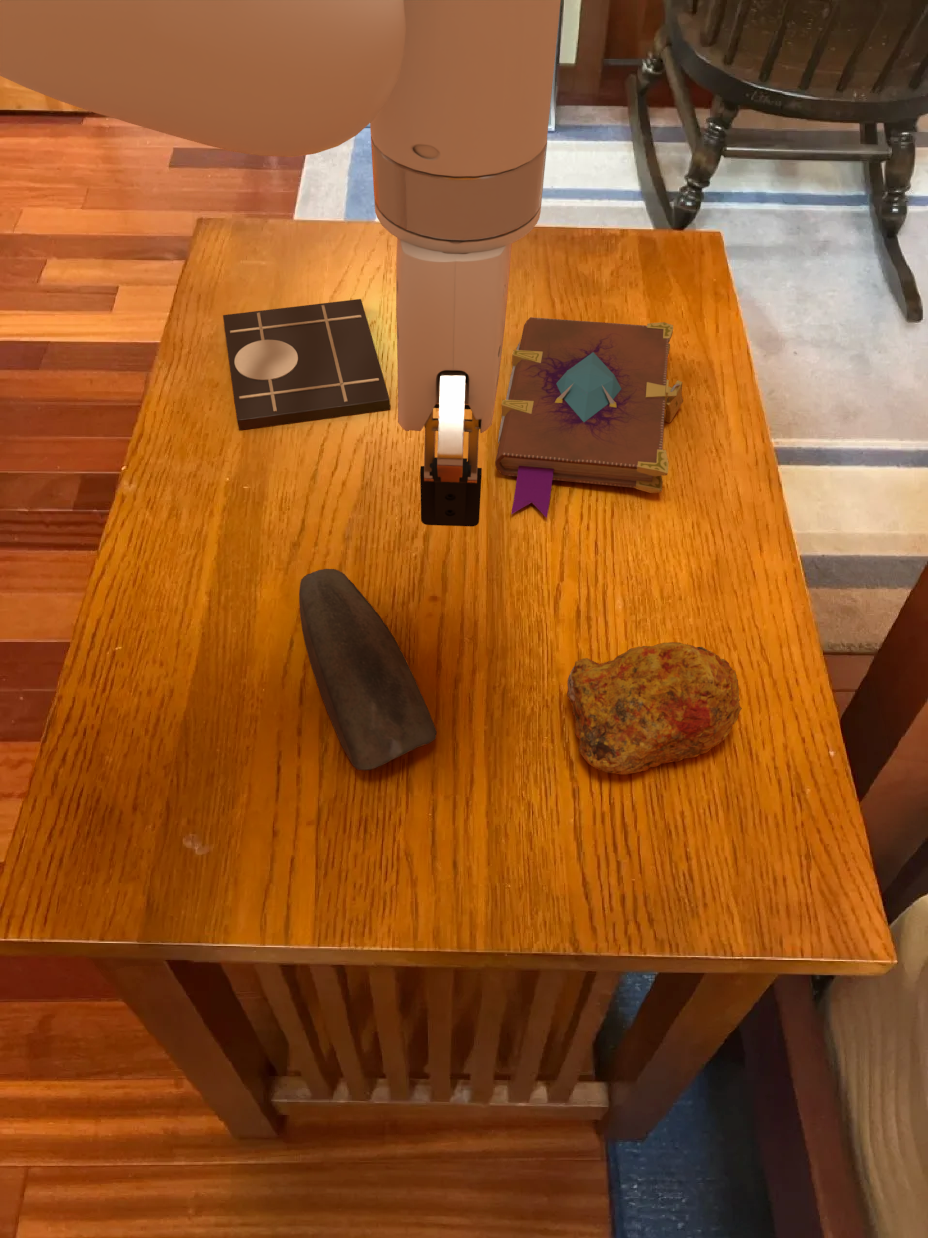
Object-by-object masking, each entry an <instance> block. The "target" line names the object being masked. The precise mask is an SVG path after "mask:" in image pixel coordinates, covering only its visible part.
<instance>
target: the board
mask: <svg viewBox="0 0 928 1238" xmlns="http://www.w3.org/2000/svg"><path fill="white" fill-rule="evenodd" d="M367 318H368V317H367V315H366V310H365V308H364V303H363V301H362V299H361V298H357V299H348V300H339V301H330V302H322V303H314V304H313V303H312V304H305V305H297V306H289V307H280V308H272V309H271V308H270V309H265V310H264V309H263V310H254V311H246V312H237V313H228V314H222V320H223V327H224V334H225V341H226V348H227V357H228V364H229V371H230V378H231V379H230V380H231V385H232V394H233V402H234V408H235V415H236V416H235V417H236V423H237V427H238V430H239V431H244V430H252V429H258V428H267V427H274V426H281V425H289V424H295V423H302V422H309V421H317V420H323V419H331V418H340V417H345V416H347V417H348V416H353V415H360V414H362V415H363V414H367V413H368V414H369V413H375V412H382V411H389V410H390V411H391V400H390V396H389V392H388V389H387V385H386V381H385V378H384V374H383V372H382V367H381V365H380V364H381V363H380V361H379V357H378V354H377V349H376V346H375V343H374V339H373V336H372V331H371V328H370V326H369V322H368V319H367Z"/></svg>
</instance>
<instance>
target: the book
mask: <svg viewBox="0 0 928 1238" xmlns="http://www.w3.org/2000/svg"><path fill="white" fill-rule="evenodd" d="M673 332H674V325H673V324H671V323H667V322H665V321H664V322H651V323H650V322H647V324H646V325H643V324H628V323H617V322H616V323H615V322H604V321H603V322H602V321H590V320H589V321H587V320H574V319H561V318H560V319H559V318H558V319H557V318H548V317H532V316H531V317H529V318H528V319H527V320H526V321H525V322H524V324H523V327H522V333H521V338H520V341H519V342H518V344H517V347H516V349H512V355H511V374H510V378H509V382H508V387H507V391H506V397H505V399H502V401H501V420H500V424H499V428H498V429H499V430H498V440H497V444H498V448H497V451H496V457H495V464H494V466H495V468H496V469H497V471H498V472H499V473H500V474H501V475H502V476H508V477H509V476H510V477H516V482H515V488H514V496H513V502H512V507H511V513H510V515H513V514H516V513H517V512H518V511H520V510H522V509H524V508H525V507H528V506H529V505H530V504H532V506H534V507H535V508H536V509H537V510H538V511H539V512H540V513H541V514H542V515H543V516H544V517H545V518H546V519H548V514H549V507H550V500H551V494H552V486H553V481H561V482H571V483H572V482H573V483H581V484H582V483H584V484H593V485H601V486H602V485H604V486H612V487H613V486H614V487H622V488H623V487H624V488H633V489H636V490H639V491H642V492H647V493H650V494H657V493H662V492H663V483H664V482H663V481H664V480H663V477H664V476H668V475H669V458H668V453H667V450H666V449H663V447H664V429H665V428H664V427H665V422H666V423H669V424H671V422H672V421H673V419H674V418H675V416H676V415H677V412H678V411H679V409H680V408H681V406H682V404H683V402H684V398H683V381H681V380H678V379H677V380H676V382H675V384H674V385H672V386H669V383H670V380H669V379H667V374H668V357H669V355H670V350H671V343H670V341H671V339H672V336H673Z"/></svg>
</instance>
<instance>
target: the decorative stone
mask: <svg viewBox="0 0 928 1238" xmlns="http://www.w3.org/2000/svg"><path fill="white" fill-rule="evenodd" d="M298 592H299V593H298V604H299V605H298V606H299V616H300V624H301V631H302V636H303V639H304V640H303V641H304V645H305V649H306V652H307V656H308V660H309V663H310V666H311V670H312V673H313V676H314V679H315V682H316V685H317V688H318V690H319V693H320V696H321V699H322V701H323V704H324V707H325V709H326V712H327V715H328V717H329V719H330V722H331V724H332V727H333V729H334V732H335V734H336V736H337V739H338V741H339V742H340V745H341V747H342V749H343V750H344V752H345V754H346V756H347V758H348V760H349V761H350V763H351V765H352V766H353V768H355V769H356V770H358V771H370V770H374V769H377V768H379V767H382V766H384V765H385V764H387V763H390V762H391V761H393V760H396V759H397V758H399V757H401V756H403V755H405V754H408V753H409V752H411V751H414V750H416V749H417V748H420V747H423V746H427V745H429V744H431V743H432V742H433V741H435V740H436V738H437V733H438V732H437V728H436V726H435V724H434V720H433V719H432V715H431V713H430V711H429V708H428V705H427V704H426V701H425V699H424V696H423V694H422V693H421V690H420V688H419V686H418V682H417V679H416V678H415V676H414V674H413V672H412V669H411V668H410V666H409V664H408V661H407V659H406V657H405V654H404V653H403V651H402V650H401V647H400V646H399V643H398V642H397V640H396V638H395V637H394V636H393V634H392V632H391V630H390V629H389V627H388V625H387V624H386V623H385V621H384V620H383V618H382V617H381V616H380V614H379V613H378V612H377V611H376V609H375V608H374V607H373V606H372V605H371V603H370V602H369V601H368V599H367V598H366V597H365V596H364V595H363V593H361V591H360V590H359V589H358V588H357V586H356V585H355V584H354V582H353V581H351V579H349V577H348V576H347V575H346V573H344V572H343V571H340V570H338V569H336V568H322V569H318V570H315V571H312V572H310V573H307V574H306V575H304V576H303V577H302V578H301V580H300V583H299V591H298Z"/></svg>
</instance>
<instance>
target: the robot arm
mask: <svg viewBox="0 0 928 1238" xmlns="http://www.w3.org/2000/svg"><path fill="white" fill-rule="evenodd" d="M561 1H562V0H0V77H2V78H4V79H6V80H9V81H10V82H13V83H15V84H17V85H19V86H22V87H24V88H26V89H29V90H31V91H33V92H35V93H36V92H37V93H39V94H42V95H43V96H46V97H49V98H52V99H54V100H56V101H59V102H62V103H65V104H68V105H71V106H73V107H76V108H78V109H79V108H80V109H82V110H85V111H88V112H91V113H95V114H98V115H101V116H105V117H108V118H112V119H115V120H120V121H122V122H125V123H127V124H131V125H135V126H138V127H142V128H145V129H149V130H151V131H155V132H159V133H162V134H166V135H170V136H173V137H177V138H180V139H183V140H187V141H189V142H194V143H198V144H201V145H206V146H209V147H212V148H217V149H221V150H225V151H228V152H229V151H230V152H234V153H240V154H246V155H251V156H259V157H275V158H276V157H279V158H296V157H302V156H309V155H316V154H319V153H322V152H325V151H328V150H331V149H334V148H337V147H340V146H341V145H343V144H345V143H346V142H348V141H349V140H351V139H353V138H354V137H356V136H357V135H358V134H360V133H361V132H362V131H363V130H364V129H366V127H368V125H369V127H370V147H371V167H372V182H373V183H372V184H373V196H374V197H373V199H374V201H373V202H374V213H375V216H376V218H377V219H378V221H379V224H380V225H381V226H382V227H383V228H384V229H385V230H386V231H387V232H388V233H389V234H391V235H392V236H394V237H395V238H396V257H395V258H396V260H395V263H396V264H395V302H396V303H395V311H396V312H395V313H396V315H395V316H396V351H397V352H396V355H397V357H396V358H397V361H396V363H397V423H398V424H399V426H400V428H401V429H402V430H404V431H405V432H410V431H415V432H421V431H422V430H423V428H424V450H423V451H424V454H423V455H424V456H423V457H424V458H423V465H420V472H419V480H420V481H419V482H420V485H419V486H420V487H419V488H420V489H419V490H420V522H421V523H422V524H423V525H426V526H440V527H441V526H442V527H444V526H445V527H449V526H450V527H476V526H478V525H479V524H480V514H481V513H480V512H481V496H482V495H481V492H482V477H483V476H482V474H483V473H482V472H483V468H482V467H478V465H479V463H478V462H479V441H480V440H479V438H480V434H483V433H484V432H486V431H487V430H489V429H490V427H491V426H492V425H493V420H494V413H495V406H496V398H497V393H498V384H499V380H500V379H499V378H500V370H501V362H502V354H503V345H504V337H505V327H506V318H507V306H508V295H509V283H510V272H511V259H512V248H513V247H512V246H513V244H514V243H516V242H517V241H519V240H521V239H523V238H524V237H526V236H527V235H529V233H531V232H532V231H533V230H534V228H535V226H537V224H538V223H539V221H540V217H541V212H542V203H543V193H544V192H543V191H544V190H543V189H544V181H545V170H546V160H547V150H548V149H547V148H548V133H549V132H548V131H549V123H550V112H551V103H552V92H553V82H554V73H555V72H554V71H555V62H556V52H557V41H558V34H559V33H558V32H559V23H560V11H561ZM434 409H438V417H434ZM465 410H470V411H471V418H469V419H468V418H465ZM436 432H437V434H436ZM464 433H468V437H467V441H468V442H467V457H465V458H464V439H465V438H464V437H465V435H464ZM436 435H437V450H436ZM436 451H437V455H436Z"/></svg>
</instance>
